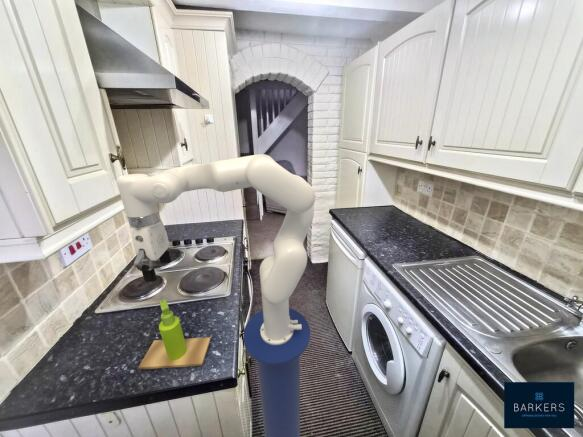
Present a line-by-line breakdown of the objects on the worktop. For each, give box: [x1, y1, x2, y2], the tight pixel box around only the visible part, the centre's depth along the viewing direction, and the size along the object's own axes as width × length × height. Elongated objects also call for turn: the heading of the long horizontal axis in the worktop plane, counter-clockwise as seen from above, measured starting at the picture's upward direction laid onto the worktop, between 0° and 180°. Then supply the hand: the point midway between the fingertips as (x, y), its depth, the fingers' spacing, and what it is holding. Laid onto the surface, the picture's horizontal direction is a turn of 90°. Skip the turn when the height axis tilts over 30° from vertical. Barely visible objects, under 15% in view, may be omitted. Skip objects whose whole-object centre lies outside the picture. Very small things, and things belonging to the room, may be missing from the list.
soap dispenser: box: [158, 298, 187, 360], centre depth 74 cm, size 6×7×20 cm
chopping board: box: [138, 336, 212, 370], centre depth 78 cm, size 20×10×1 cm, turn 93°
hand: (159, 270), depth 70 cm, fingers open, 9 cm apart
